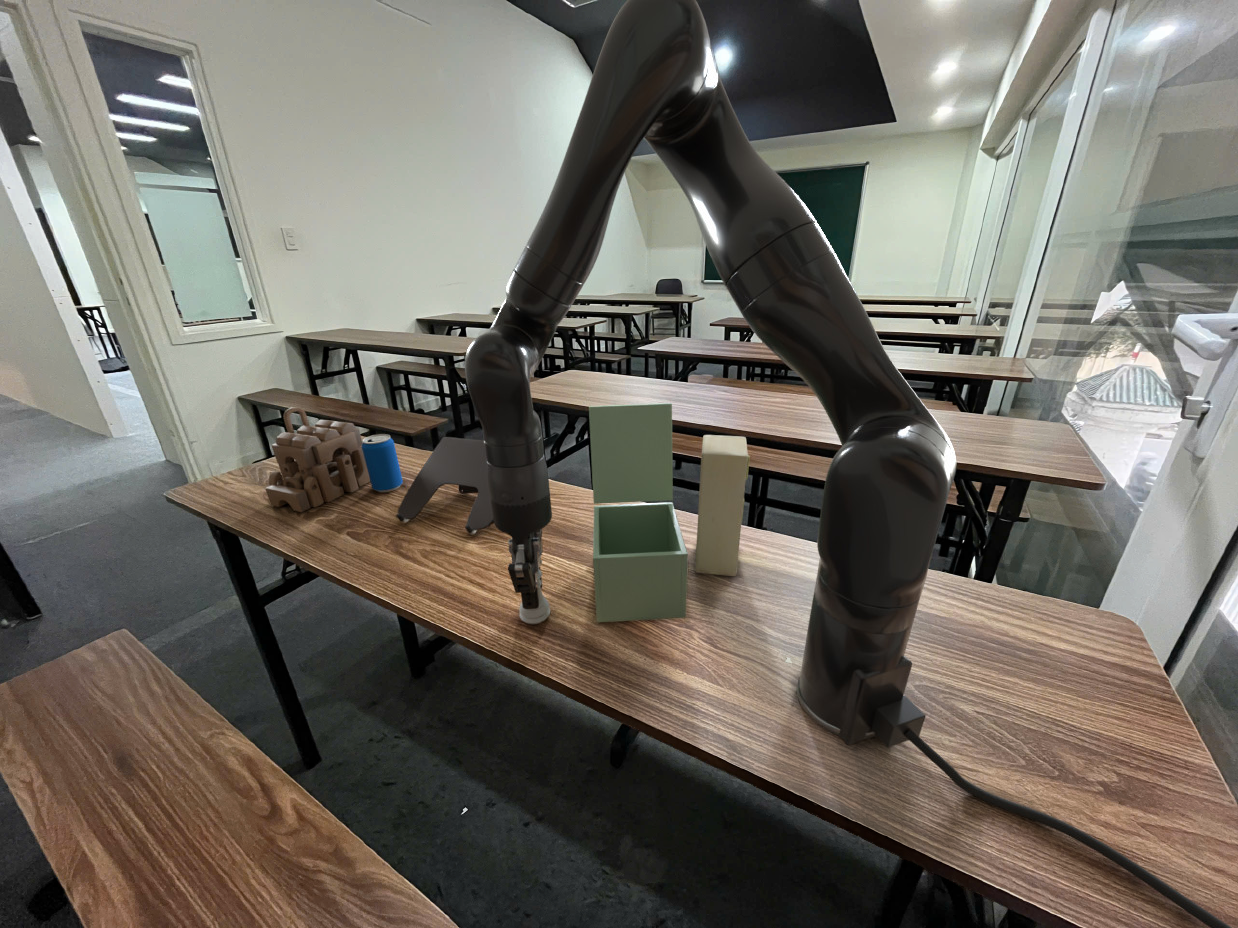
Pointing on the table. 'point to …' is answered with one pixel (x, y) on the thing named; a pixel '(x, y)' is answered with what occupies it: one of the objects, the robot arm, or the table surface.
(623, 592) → the chest
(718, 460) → the toy refrigerator
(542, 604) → the rook chess piece
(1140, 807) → the table surface
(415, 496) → the laptop tray
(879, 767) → the table surface
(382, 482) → the beverage can
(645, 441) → the lid
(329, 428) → the wooden puzzle
